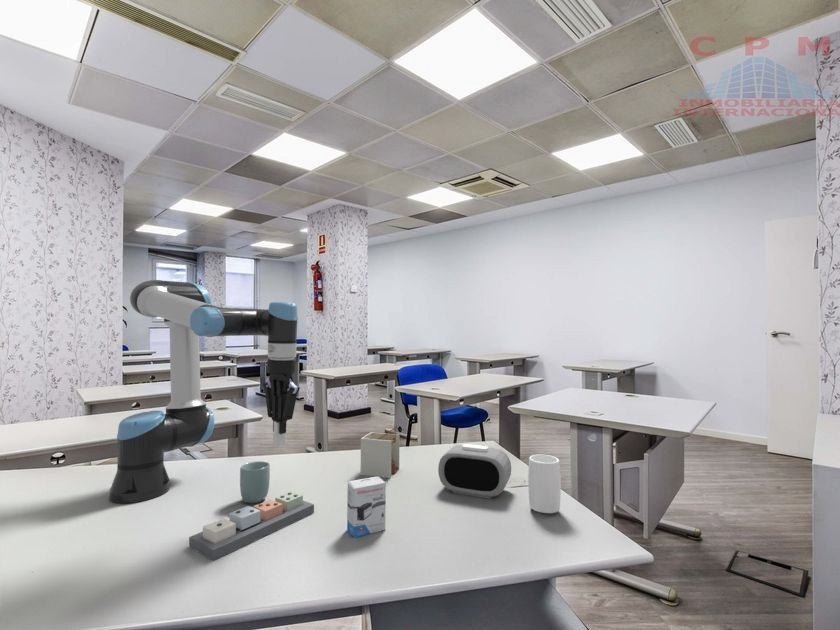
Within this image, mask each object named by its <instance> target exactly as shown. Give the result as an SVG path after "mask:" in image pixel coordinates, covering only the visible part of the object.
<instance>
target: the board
mask: <svg viewBox="0 0 840 630" xmlns="http://www.w3.org/2000/svg"><path fill="white" fill-rule="evenodd" d="M314 513H315V504H314V503H311V502H309V501H306V500H303V505H302V506H299V507H297V508H295V509H293V510H290V511H288V512H286V511H284V510H283V514H281V515H279V516H277V517H275V518H272V519H270V520H268V521H266V522H265V521H263V520H261V519H260V522H259V523H257V524H255V525H252V526H250V527H249V528H247V529H244V531H243V530H242V531H241V530H240V529H238V528H236V535H234V536H232V537H230V538H227V539H225V540H223V541H221V542H218V543H216V544H213V543H211V542H209V541H207V540H205V539H203V531H200V532H199V533H198V532H197V533H196V534H193V535H191V536H188V547H189V548H191V549H192V550H194V551H196V552H197V553H199V554H201V555H203V556H205V557H206V558H208V559H210V560H211V561H216V560H218V559H220V558H222V557H224V556H226V555H228V554H230V553H232V552H234V551H236V550H238V549H240V548H243V547H245V546H247V545H249V544H251V543H254V542H256V541H258V540H260V539H262V538H264V537H266V536H269V535H270V534H272V533H274V532H277V531H278V530H280V529H283V528H285V527H287V526H289V525H291V524H293V523H295V522H298V521H299V520H301V519H304V518H306V517H308V516H310V515H312V514H314Z"/></svg>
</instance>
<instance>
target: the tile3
mask: <svg viewBox="0 0 840 630" xmlns="http://www.w3.org/2000/svg"><path fill="white" fill-rule="evenodd" d="M253 508H255V509H258V510H260V511H261V517H260V519H261V520H263V521H265V522H266V521H268V520H270V519H272V518H275V517H277V516H279V515H281V514H283V504H281V503H278V502H276V501H275V500H272V499H269V500H266V501H264V502H263V501H262V502H261V503H257V504H256V505H254V506H253Z"/></svg>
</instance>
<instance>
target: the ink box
mask: <svg viewBox="0 0 840 630" xmlns="http://www.w3.org/2000/svg"><path fill="white" fill-rule="evenodd" d="M386 485H387V484H386V481H384V480H383V479H382V477H376V476H370V477H367V478H361V479H355V480H349V482H347V501H346V502H347V506H346V507H347V511H346V513H347V514H346V516H347V521H346V523H347V524H346V528H347V529H346V530H347V531H348V533H349V534H350V535H351V536H352V537H353V538H354V537H355V538H358V536H359V537H362V535H363V536H366V535H369V533H370V534H373V533H378V532H382V530H383V531H385V530H386V519H387V517H386V509H387V505H386V503H387V502H386V497H387V495H386V493H387V492H386V491H387V489H386V488H387V487H386Z"/></svg>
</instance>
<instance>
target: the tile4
mask: <svg viewBox="0 0 840 630" xmlns="http://www.w3.org/2000/svg"><path fill="white" fill-rule="evenodd" d="M303 496H304V495H301V494H300V493H296V492H293V491H287V492H286V493H283V494H281V495H278V496H276V497H274V501H276V502H278V503H281V504H283V510H284V511H286V512H288V511H290V510H293V509H295V508H297V507H299V506H302V505H303V501H304V499H303Z"/></svg>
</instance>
